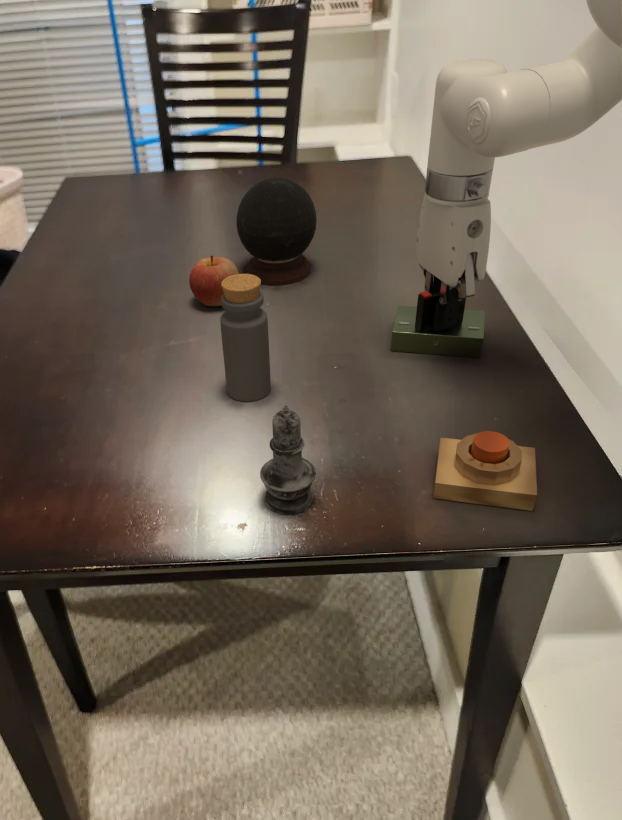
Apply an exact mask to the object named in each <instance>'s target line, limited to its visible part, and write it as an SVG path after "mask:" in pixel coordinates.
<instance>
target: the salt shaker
mask: <svg viewBox="0 0 622 820" xmlns="http://www.w3.org/2000/svg"><path fill="white" fill-rule="evenodd" d="M271 424H272V427H271V428H272V438H271V439H270V441H269V449H270V450H271V451H272V458H271V459H269V460H268V461H266V462H265V463H264V464H263V465H262V467H261V468H260V471H259V477H260V480H261V482H262V483H263V485H264V487H265V488H266V491H265V493H264V497H263V498H264V499H263V500H264V503H265V505H266V507H267V508H268V509H269V510H270V511H272V512H274V513H276V514H280V515H285V516H287V515H297V514H301V513H302V512H304V511H306V510H308V509H309V508H310V507H311V505H312V504H313V501H314V493H313V492H312V490H311V487H312V485H313V482H314V481H315V479H316V475H317V471H316V467H315V466H314V464H313V463H312V462H310V461H309V460H308V459H306V458H304V457H303V451H302V450H303V449H304V448H305V444H306V443H305V439H304V438H303V437H302V433H301V431H302V428H301V424H302V423H301V417H300V415H299V414H298V413H297V412H296V411H294V410H291V409H290V407H289V406H288V405H287V404H285V405H284V406H283V407H282V409H281V410H279V411H277V412H276V413H275V415H273V416H272V421H271Z"/></svg>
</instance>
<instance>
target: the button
mask: <svg viewBox="0 0 622 820" xmlns="http://www.w3.org/2000/svg"><path fill="white" fill-rule="evenodd" d="M477 433H478V434H477ZM477 433H475V434H476V435H475V436H474V438H473V443H472V448H471V455H472V457H473V458H474V459H476V460H478V461H480V462H482V463H488V464H498V463H502V462H504V461H505V459H506V457H507V453H508V449H509V444H510V443H509V440H508V439H509V438H508V437H507V436H506V435H505V434H502V433H500V432H497V431H495V430H494V431H492V430H485V431H483V430H482V431H480V432H477Z"/></svg>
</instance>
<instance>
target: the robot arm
mask: <svg viewBox="0 0 622 820" xmlns="http://www.w3.org/2000/svg"><path fill="white" fill-rule="evenodd" d="M586 4H587V8H588V10H589V13H590V15H591V17H592V19H593V22H595V24H596V28H595V29H594V30H593V31H592V32H591V33H590V34H589V35H588V36H587V37H586V38H585V39H584V40H583V41H582V42H581V43H580V44H579V45H578V47H577V48H575V49H574V50H573V51H572V52H571V53H570V54H569V55H567V57H566V58H564V59H562V60H561V61H557V62H551V63H546V64H540V65H535V66H531V67H526V68H521V69H519V70H513V71H508V70H507V68H506V66H505V65H504V64H503V63H501V62H499V61H497V60H493V59H487V58H486V59H483V58H469V59H468V58H467V59H460V60H455V61H451V62H449V63H447V64H445V65H443V66H442V68H441V69H440V70H439V72H438V74H437V77H436V82H435V88H434V98H433V107H432V116H431V117H432V118H431V126H430V127H431V128H430V137H429V147H428V154H427V155H428V156H427V165H426V166H427V167H426V176H425V185H424V195H423V200H422V204H421V209H420V214H419V219H418V225H417V226H418V227H417V235H416V241H415V259H416V262H417V263H418V265H419V267H420V269H421V271H422V273H423V276H424V279H425V280H424V291H428V292H430V291H434V290H439V289H440V296H439V302H436V304H435V312H434V320H433V329H434V330H435V331H438V330H442V329H446V328H450V327H454V326H455V324H456V317H457V311H458V304H459V301H461V300H462V298H466V299H467V298H471V297H475V295H476V286H475V285H476V283H475V281H477V282H481V281H484V279H485V276H486V272H487V267H488V258H489V252H490V251H489V250H490V242H491V230H492V229H491V226H492V225H491V224H492V207H491V200H490V199H489V197H490V192H491V191H490V190H491V185H492V178H493V171H494V167H495V166H494V165H495V160H496V158H501V157H505V156H510V155H514V154H518V153H521V152H525V151H528V150H532V149H535V148H541V147H544V146H549V145H553V144H557V143H561V142H566V141H567V140H570V139H572V138H574V137H577V136H578V135H580V134H582V133H584V132H585V131H586V130H588V129H589V128H591V127H592V126H593V125H595V124H596V123H597V122H598V121H599V120H601V118H603V117H604V116H605V115H606V114H607V113H609V112H611V110H613V108H615V106H617V105H618V104H619V103H620V102H621V101H622V0H586ZM454 286H455V288H452V289H451V290H450V291H449V288H450V287H454Z"/></svg>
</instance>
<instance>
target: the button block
mask: <svg viewBox="0 0 622 820" xmlns="http://www.w3.org/2000/svg"><path fill="white" fill-rule="evenodd" d="M478 433H479V432H477V433H473V434H467V435H466V436H464V437H463V438H462V439H459V438H458V439H457V438H449V437H440V438H439V445H438V450H437V459H436V467H435V476H434V485H433V491H432V492H433V494H432V499H435V500H443V501H451V502H460V503H468V504H475V505H483V506H490V507H499V508H504V509H505V508H506V509H512V510H513V509H514V510H521V511H530V512H533V511H534V507H535V505H536V501H537V499H538V498H537V497H538V484H537V481H538V480H537V464H536V463H537V462H536V447H531V446H522V445H517V443H515V441H514V440H512V439H510V438H508V440H509V443H510V444H509V449H508V453H507V457H506V459H505V461H504V462H502V463H498V464H488V463H482V462H480V461H478V460H476V459H474V458H473V457H472V455H471V448H472V443H473V438H474V436H475V435H476V434H478Z"/></svg>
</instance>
